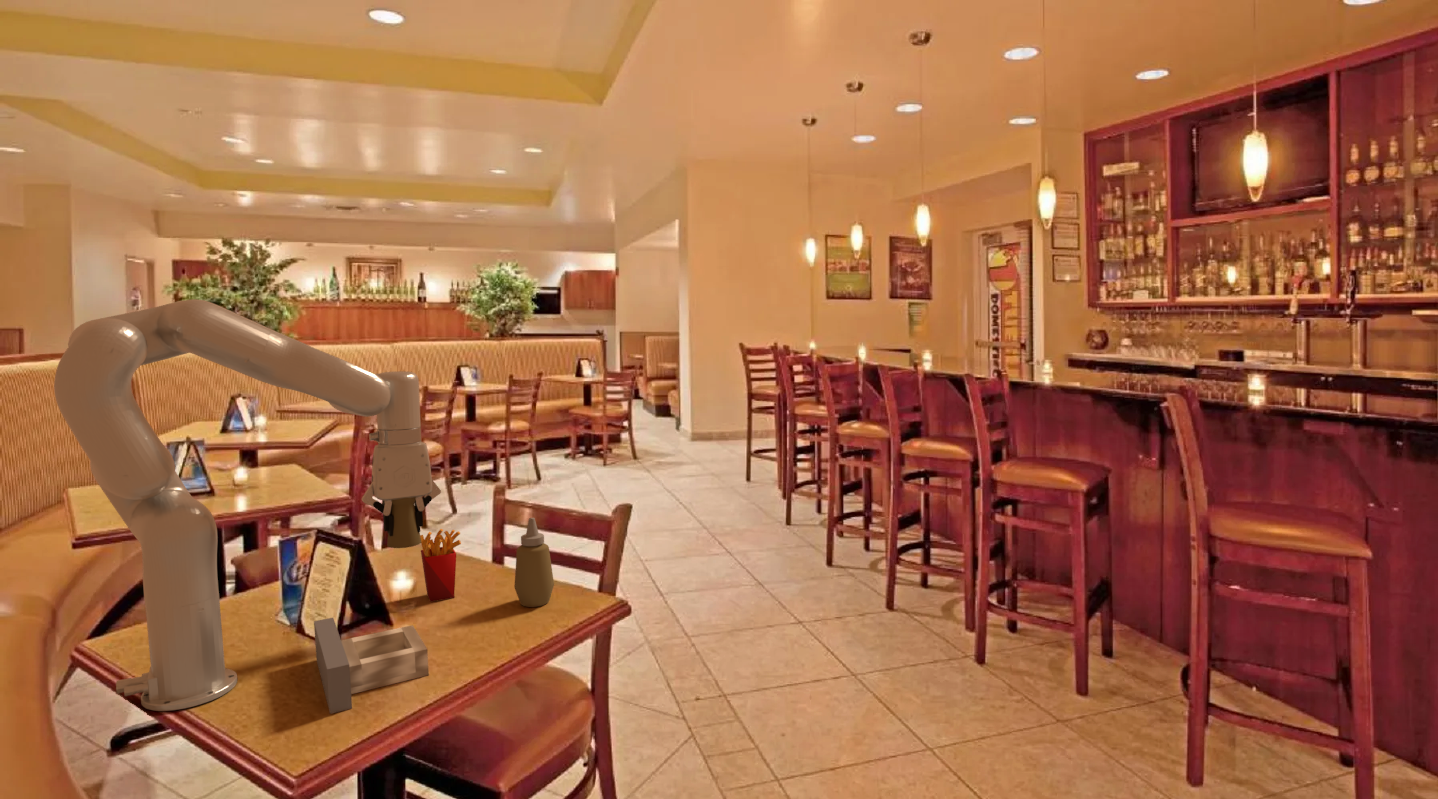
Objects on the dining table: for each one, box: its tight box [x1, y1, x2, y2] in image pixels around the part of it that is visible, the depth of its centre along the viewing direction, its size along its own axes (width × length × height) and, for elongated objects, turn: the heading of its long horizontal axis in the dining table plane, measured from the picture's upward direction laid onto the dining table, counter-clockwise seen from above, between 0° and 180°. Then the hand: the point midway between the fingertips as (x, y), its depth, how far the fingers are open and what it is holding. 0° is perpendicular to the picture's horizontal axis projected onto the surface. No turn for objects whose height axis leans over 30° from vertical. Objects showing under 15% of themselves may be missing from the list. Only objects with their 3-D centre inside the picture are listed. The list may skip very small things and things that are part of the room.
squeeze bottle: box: [514, 517, 555, 608], centre depth 158 cm, size 8×8×18 cm
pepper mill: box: [386, 497, 421, 549], centre depth 144 cm, size 6×6×11 cm
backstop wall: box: [313, 617, 353, 715], centre depth 124 cm, size 3×22×7 cm, turn 32°
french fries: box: [420, 528, 462, 603], centre depth 162 cm, size 9×8×15 cm
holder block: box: [341, 624, 430, 695], centre depth 128 cm, size 12×12×4 cm
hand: (403, 531), depth 144 cm, fingers closed on pepper mill, 4 cm apart
